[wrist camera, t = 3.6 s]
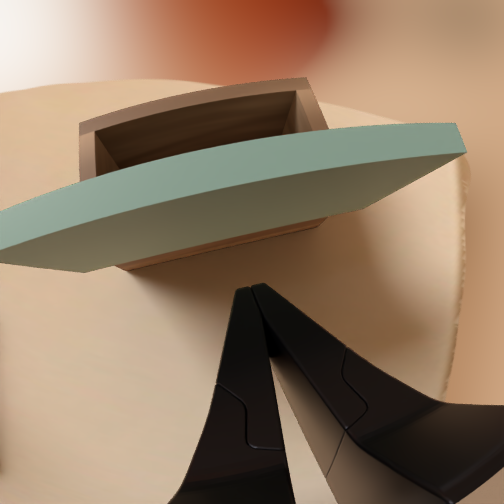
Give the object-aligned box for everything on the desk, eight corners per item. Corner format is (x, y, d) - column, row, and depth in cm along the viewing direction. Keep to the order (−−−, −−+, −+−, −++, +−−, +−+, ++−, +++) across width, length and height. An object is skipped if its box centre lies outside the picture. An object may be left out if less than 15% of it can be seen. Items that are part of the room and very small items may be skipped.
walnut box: (317, 227, 23) (352, 192, 16) (126, 271, 21) (86, 252, 14) (286, 133, 24) (306, 77, 17) (112, 170, 22) (79, 123, 16)
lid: (357, 190, 16) (362, 209, 16) (81, 253, 14) (84, 272, 14) (455, 122, 8) (467, 152, 8) (-28, 223, 6) (-26, 259, 6)
